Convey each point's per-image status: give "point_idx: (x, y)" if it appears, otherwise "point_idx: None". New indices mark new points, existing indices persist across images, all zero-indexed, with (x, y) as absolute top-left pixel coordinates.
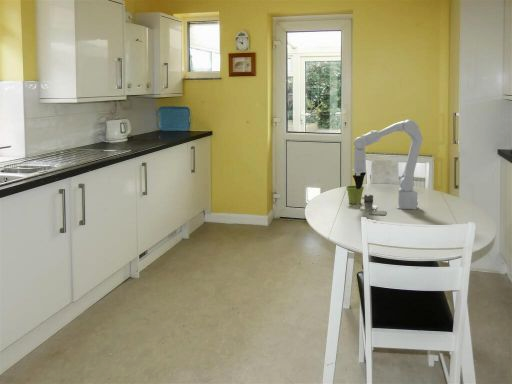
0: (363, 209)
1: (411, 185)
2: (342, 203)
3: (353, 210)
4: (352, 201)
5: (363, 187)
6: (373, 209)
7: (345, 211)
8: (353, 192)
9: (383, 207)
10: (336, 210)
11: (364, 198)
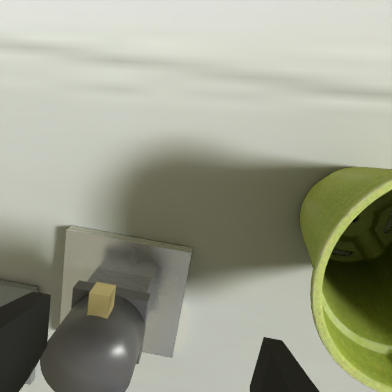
0: (68, 253)
1: None
2: (333, 103)
3: (52, 177)
4: (309, 196)
5: (378, 388)
6: (62, 318)
7: (6, 109)
8: (323, 235)
9: (173, 385)
10: (31, 29)
11: (84, 309)
